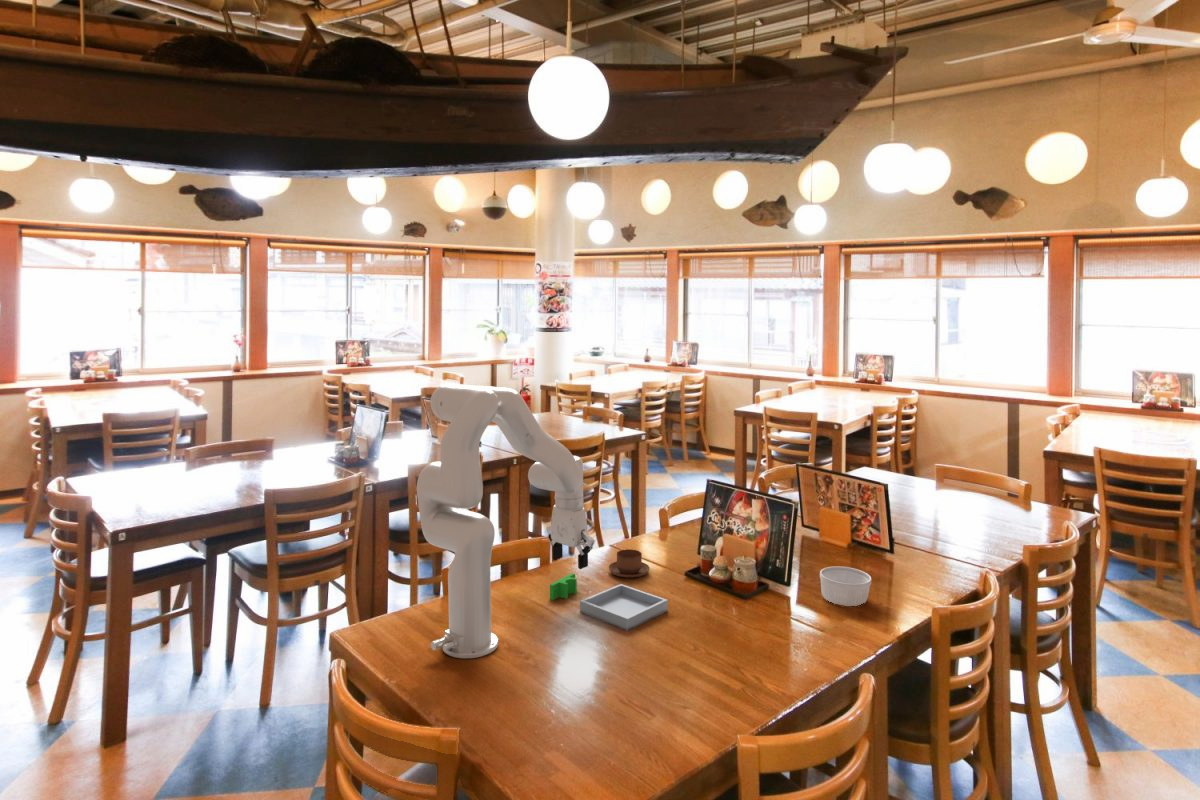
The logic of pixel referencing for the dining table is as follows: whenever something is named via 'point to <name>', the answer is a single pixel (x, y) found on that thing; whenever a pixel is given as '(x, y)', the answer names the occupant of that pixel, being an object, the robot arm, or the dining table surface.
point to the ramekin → (845, 585)
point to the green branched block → (563, 587)
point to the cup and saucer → (629, 564)
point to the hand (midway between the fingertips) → (570, 563)
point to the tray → (624, 606)
